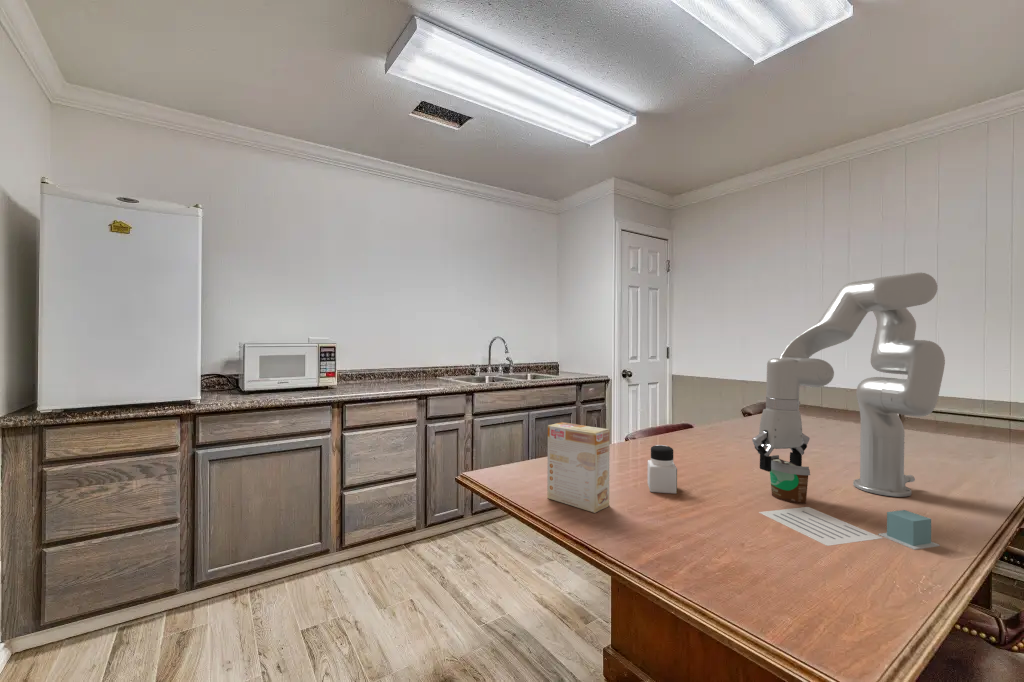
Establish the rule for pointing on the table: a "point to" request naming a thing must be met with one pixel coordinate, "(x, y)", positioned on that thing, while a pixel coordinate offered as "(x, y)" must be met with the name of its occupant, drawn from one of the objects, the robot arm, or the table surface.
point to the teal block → (909, 527)
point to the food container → (788, 481)
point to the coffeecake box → (578, 465)
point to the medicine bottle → (662, 470)
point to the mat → (909, 544)
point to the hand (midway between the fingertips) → (780, 469)
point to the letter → (820, 526)
